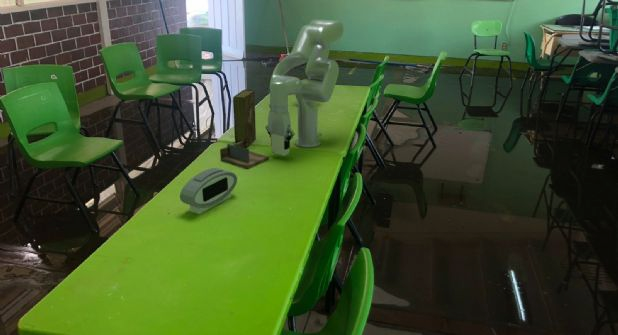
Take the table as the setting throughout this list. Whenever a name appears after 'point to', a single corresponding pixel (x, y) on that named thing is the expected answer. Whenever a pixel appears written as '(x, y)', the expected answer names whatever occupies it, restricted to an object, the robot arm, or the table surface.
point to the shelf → (241, 156)
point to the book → (244, 117)
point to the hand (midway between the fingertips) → (280, 146)
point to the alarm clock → (208, 189)
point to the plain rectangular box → (278, 144)
